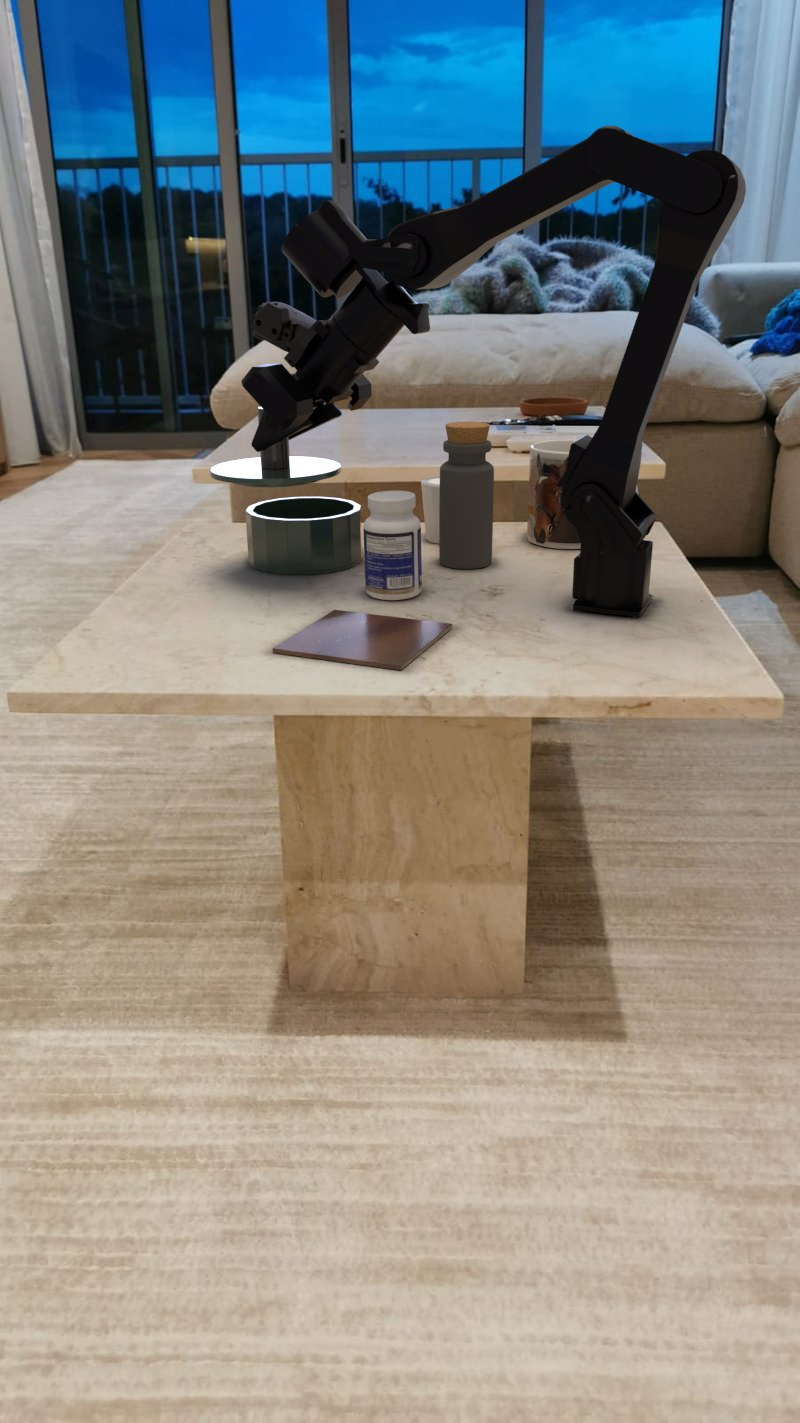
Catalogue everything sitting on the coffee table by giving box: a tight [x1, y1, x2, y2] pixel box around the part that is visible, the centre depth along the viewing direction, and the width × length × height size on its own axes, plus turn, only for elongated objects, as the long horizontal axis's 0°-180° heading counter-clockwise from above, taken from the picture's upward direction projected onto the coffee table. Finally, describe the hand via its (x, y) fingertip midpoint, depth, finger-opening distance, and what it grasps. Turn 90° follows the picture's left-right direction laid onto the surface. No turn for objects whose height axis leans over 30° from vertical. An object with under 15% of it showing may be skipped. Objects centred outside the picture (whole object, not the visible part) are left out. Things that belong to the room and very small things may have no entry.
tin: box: [244, 496, 363, 576], centre depth 120 cm, size 13×13×6 cm
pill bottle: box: [362, 490, 423, 601], centre depth 106 cm, size 6×6×10 cm
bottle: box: [438, 421, 495, 570], centre depth 116 cm, size 6×6×15 cm
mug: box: [526, 439, 639, 550], centre depth 125 cm, size 10×12×11 cm
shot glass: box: [420, 476, 440, 545], centre depth 128 cm, size 7×7×7 cm
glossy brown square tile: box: [272, 609, 453, 671], centre depth 95 cm, size 12×12×1 cm
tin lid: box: [209, 406, 342, 488], centre depth 111 cm, size 14×14×7 cm
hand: (262, 446), depth 111 cm, fingers closed on tin lid, 3 cm apart
